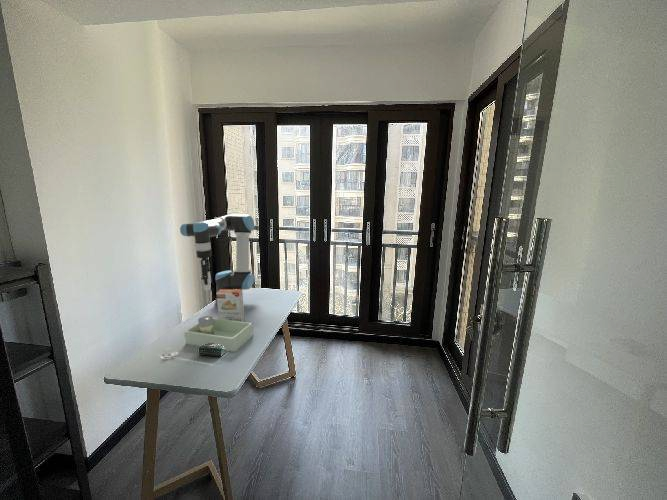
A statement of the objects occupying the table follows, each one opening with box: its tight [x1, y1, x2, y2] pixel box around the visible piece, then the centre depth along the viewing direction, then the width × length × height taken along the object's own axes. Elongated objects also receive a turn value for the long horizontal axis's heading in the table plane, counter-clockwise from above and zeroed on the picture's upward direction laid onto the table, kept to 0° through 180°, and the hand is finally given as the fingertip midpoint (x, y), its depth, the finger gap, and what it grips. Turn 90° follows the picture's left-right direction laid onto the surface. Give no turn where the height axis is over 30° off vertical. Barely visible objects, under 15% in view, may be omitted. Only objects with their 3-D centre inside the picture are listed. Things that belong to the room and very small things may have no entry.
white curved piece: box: [160, 346, 180, 360], centre depth 137 cm, size 9×8×4 cm
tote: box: [183, 317, 254, 353], centre depth 150 cm, size 18×30×8 cm, turn 74°
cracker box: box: [215, 289, 246, 322], centre depth 169 cm, size 14×6×21 cm, turn 89°
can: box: [197, 315, 214, 335], centre depth 152 cm, size 7×7×11 cm
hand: (207, 286), depth 158 cm, fingers open, 13 cm apart
